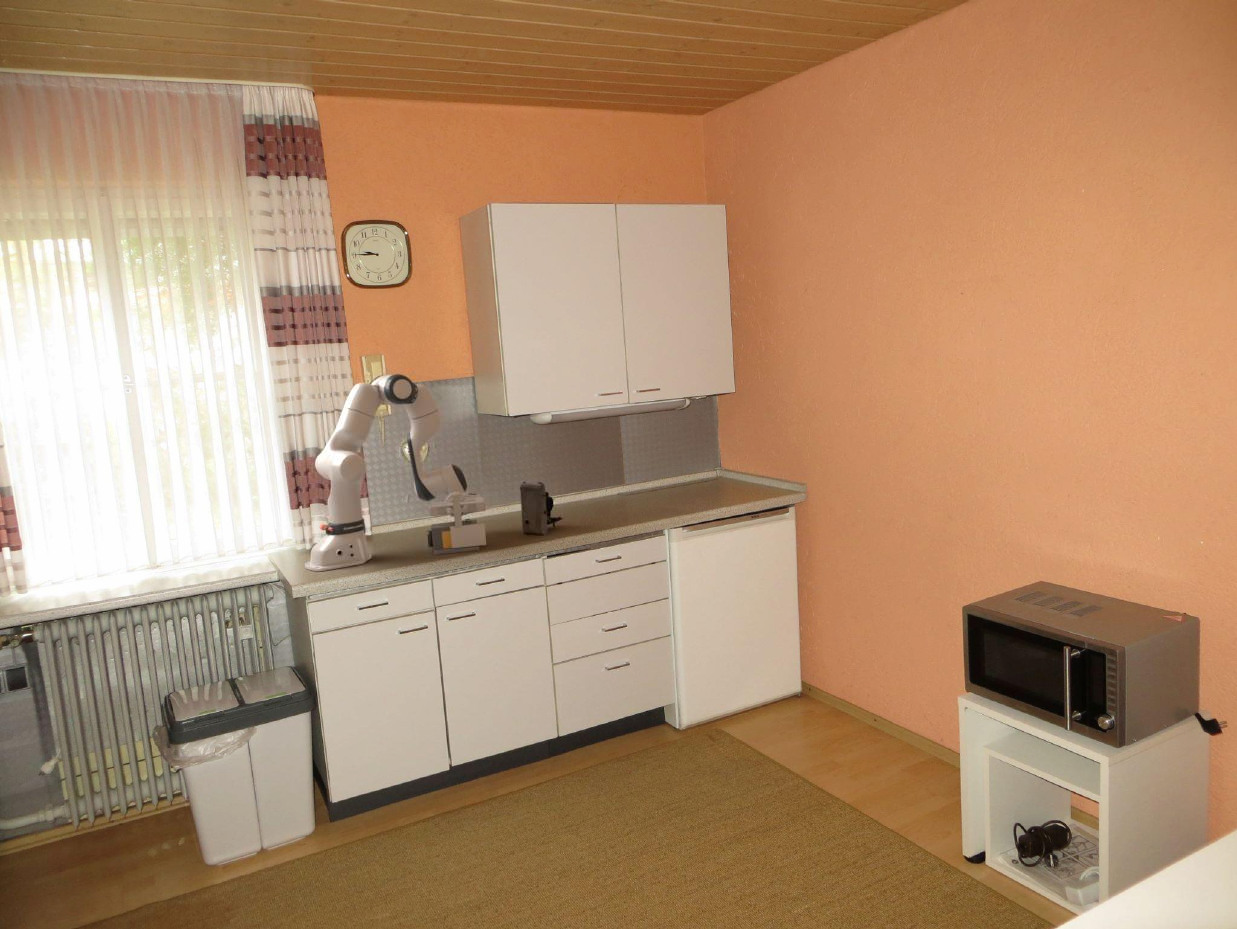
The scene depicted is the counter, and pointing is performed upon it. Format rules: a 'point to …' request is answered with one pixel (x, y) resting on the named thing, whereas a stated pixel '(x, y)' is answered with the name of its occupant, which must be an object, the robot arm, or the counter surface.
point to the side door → (465, 529)
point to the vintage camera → (536, 508)
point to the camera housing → (446, 538)
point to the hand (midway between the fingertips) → (457, 511)
